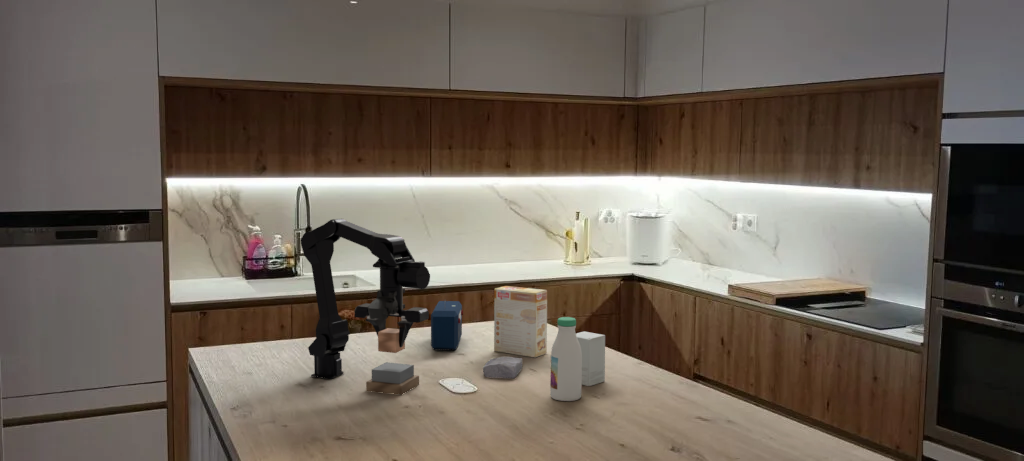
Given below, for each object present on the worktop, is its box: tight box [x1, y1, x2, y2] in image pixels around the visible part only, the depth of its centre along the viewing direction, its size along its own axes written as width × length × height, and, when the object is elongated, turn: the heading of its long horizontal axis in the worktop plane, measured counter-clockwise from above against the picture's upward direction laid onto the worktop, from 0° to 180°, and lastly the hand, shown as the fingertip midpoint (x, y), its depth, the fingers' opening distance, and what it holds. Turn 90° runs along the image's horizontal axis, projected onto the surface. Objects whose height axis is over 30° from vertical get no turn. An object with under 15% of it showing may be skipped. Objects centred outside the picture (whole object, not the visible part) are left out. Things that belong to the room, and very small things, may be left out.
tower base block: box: [365, 374, 420, 396], centre depth 220 cm, size 10×10×3 cm
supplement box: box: [575, 330, 606, 387], centre depth 226 cm, size 7×7×13 cm
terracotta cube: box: [377, 327, 406, 354], centre depth 218 cm, size 5×5×5 cm
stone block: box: [482, 356, 523, 380], centre depth 235 cm, size 12×5×10 cm
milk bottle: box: [549, 316, 582, 402], centre depth 211 cm, size 8×8×20 cm
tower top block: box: [371, 361, 415, 384], centre depth 219 cm, size 8×8×3 cm
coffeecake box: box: [493, 285, 548, 358], centre depth 258 cm, size 15×7×20 cm, turn 58°
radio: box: [430, 300, 464, 351], centre depth 268 cm, size 21×9×20 cm, turn 179°
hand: (391, 345), depth 218 cm, fingers closed on terracotta cube, 5 cm apart
